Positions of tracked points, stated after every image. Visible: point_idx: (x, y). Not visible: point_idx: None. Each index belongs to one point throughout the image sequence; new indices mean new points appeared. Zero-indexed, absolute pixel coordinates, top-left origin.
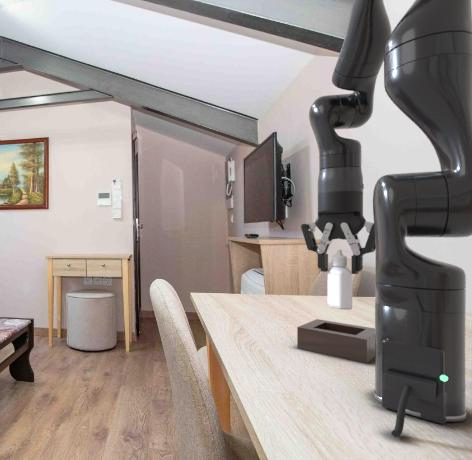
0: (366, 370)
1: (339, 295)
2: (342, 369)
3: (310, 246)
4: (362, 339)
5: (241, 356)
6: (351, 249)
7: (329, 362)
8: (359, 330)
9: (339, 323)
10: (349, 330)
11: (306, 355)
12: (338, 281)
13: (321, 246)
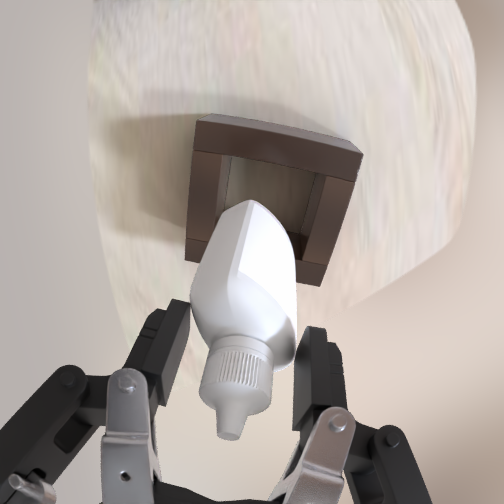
0: (208, 63)
1: (250, 220)
2: (248, 35)
3: (391, 448)
4: (205, 121)
5: (433, 13)
6: (147, 407)
7: (277, 68)
8: None
9: None
10: None
11: (326, 92)
12: (247, 255)
13: (330, 451)
